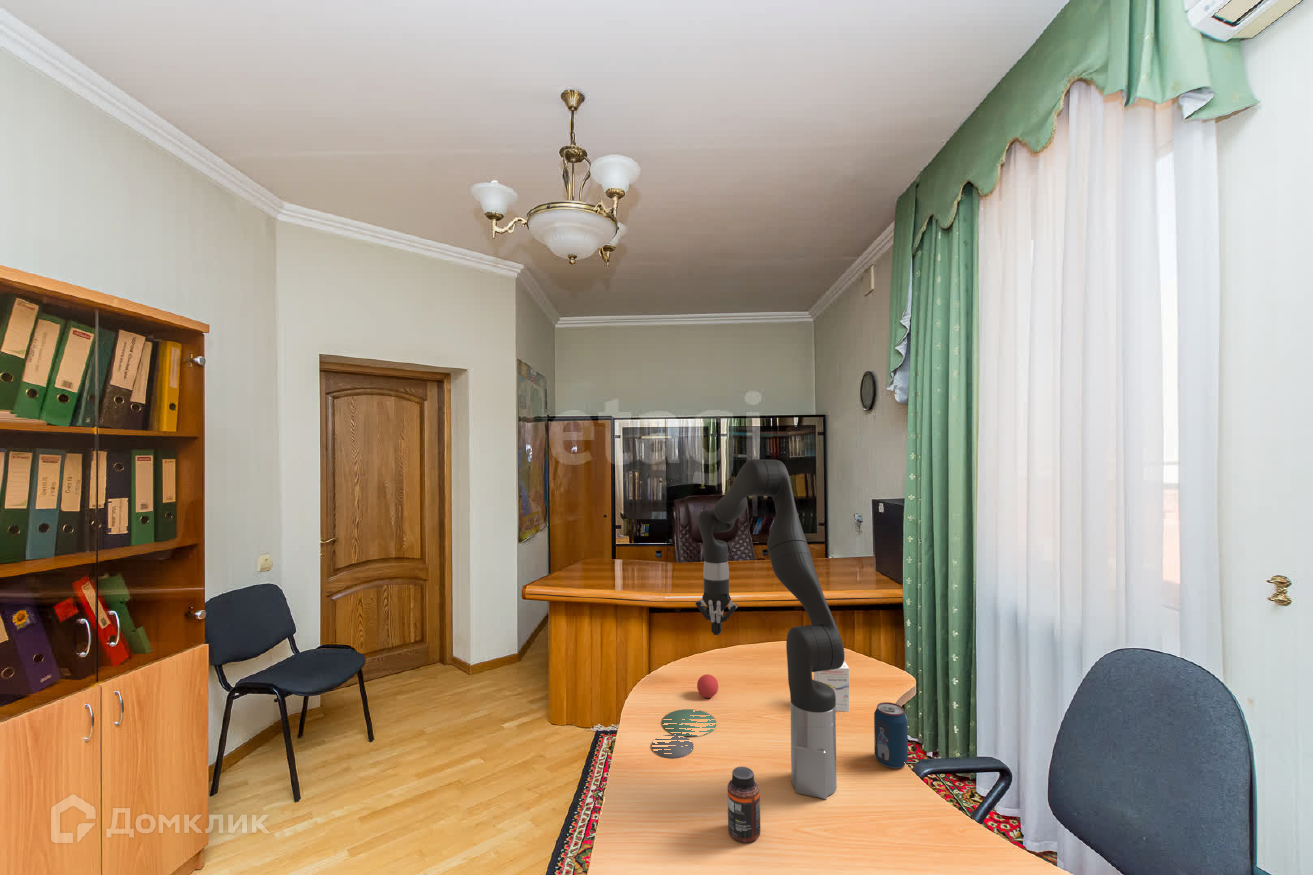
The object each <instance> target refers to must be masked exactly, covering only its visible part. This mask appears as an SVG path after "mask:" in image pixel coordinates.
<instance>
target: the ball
mask: <svg viewBox="0 0 1313 875" xmlns="http://www.w3.org/2000/svg"><path fill="white" fill-rule="evenodd" d="M696 687H697V691H698V693H699V695H700V696H702V697H704V698H707V699H709V698H713V697H715V695H717V693H718V691H719V683H718V680H717V679H716V676H714V675H712V674H703V675H701V676H700V677H699V678H698V680H697V683H696Z"/></svg>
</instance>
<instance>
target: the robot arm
mask: <svg viewBox="0 0 1313 875" xmlns="http://www.w3.org/2000/svg"><path fill="white" fill-rule="evenodd" d="M790 479H791V478H790V475H789V472H788V469H787V467H786V465H785V463H783V461H781V460H778V459H764V458H763V459H762V458H761V459H760V458H755V459H753V458H752V459H749V460H747V461H746V462H745V463H744V464H743V465H742V466H741V468H740V469H739V471H738V473H737V475H736V477H735V478H734V480H733V482H732V484H731V485H730V488H729V489H728V490H727V492H726V493H725V494H724V495H723V496H722V497H721V498H720V499H719V500H718V501H717V503H716V504H715V505H714V508H711V509H709V508H706V509H703V510H701V511H700V513H699V515H698V517H697V525H698V528H699V533H700V535H701V539H702V544H703V553H704V554H703V559H704V561H703V594H702V598H701V599H699V600H697V601H695V606H696V607H697V608H698V611H699V612H700V613H701V614H702V616H703V618H704V619H705V620H708V621H710V623H711V627H710V628H711V633H712V634H713V636H719V635H720V634H721V633H722V631H723V623H724V622H727V621H728V619H730V617H731V615H733V613H734V612H735V611H736V609H737V608H738V606H739V605H738V604H737V603H734V602H733V601H732V597H731V596H730V567H729V550H728V549H729V548H728V547H729V546H728V543H727V542H726V541H724V540H720V539H715V537H714V535H713V534H718V533H719V534H720V533H721V534H722V533H727V532H730V531H731V530H732V529H733V528H734V526H735V523H736V521H737V519H738V518H739V517H740V516H742V514H744V513H745V511H746V510H747V506H748V497H749V496H755V497H771V498H772V500H773V503H774V508H775V517H774V520H773V523H772V526H771V528H770V532H769V535H768V537H767V543H766V546H767V553H768V556H769V560H770V563H771V567H772V569H773V570H772V571H773V573H774V574H775V577H776V578H777V579H778V580H779V582H780V583H781V584H782V585H783V586H784V587H785V588H786V590H788V592H790V593H791V595H793V596H794V597H795V599H797V600H798V601H799V602H800V604H801V605H802V607H803V608H804V611H805V612H806V613H807V616H808V618H809V621H810V625H809V624H808V625H798V626H793V627H791V628H789V630H788V632H787V635H786V643H785V644H786V645H785V647H786V661H787V681H788V688H789V689H788V690H789V694H790V698H789V699H790V770H791V771H790V774H791V775H790V776H791V777H790V778H791V779H790V780H791V784H792V786H793V787H794V789H795V793H797V794H800V795H806V796H809V797H813V798H818V799H823V800H827V798H828V796H830V795H832V794H834V793H835V792H836V791H837V787H838V786H837V784H838V783H837V780H838V779H837V776H838V775H837V730H836V729H837V723H836V722H837V711H836V696H835V692H834V690H833V689H832V688H831V687H830V686H828V685H827V684H825V683H822V682H819V681H816V680H814V679H813V673H814V672H817V671H826V670H834V669H838V668H840V667H841V666H842V665H843V663H844V651H845V647H844V644H843V639H842V636H841V633H840V632H839V629H838V626H837V623H836V621H835V619H834V616H833V615H832V611H831V610H830V607H829V604H828V602H827V599H826V597H825V595H824V592H823V590H822V586H821V584H820V580H819V577H818V574H817V571H816V568H815V565H814V561H813V556H812V554H811V551H810V548H809V545H808V542H807V538H806V536H805V533H804V530H803V527H802V524H801V519H800V518H799V512H798V510H797V506H796V502H795V497H794V493H793V492H794V491H793V488H792V484H791V480H790ZM727 606H728V608H727ZM726 608H727V609H728V611H727V612H726V613H725V615H724V610H725V609H726Z"/></svg>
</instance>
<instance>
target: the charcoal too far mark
mask: <svg viewBox="0 0 1313 875" xmlns="http://www.w3.org/2000/svg"><path fill="white" fill-rule="evenodd" d="M663 736H674V737H672V738H671V739H657V738H655V739H654V740H677V741H671V742H669V743H665V742H657V743H658V744H655V743H653V741H652V742H651V745H676V746H668V747H652V748H651V750H652V749H662V750H658V751H654V752H655V753H657V754H658V755H657V754H656V755H657V756H659V755H660V756H659V757H662V758H665V757H666V759H667V758H668V759H679V758H683V757H686V756H688V755H690V754H691V753H692V752H693V750H694V748H693V747H694V746H693V745H694V743H693V742H689V741H684V742H680V741H678V740H691V739H689V737H686V738H683V737H680V738H679V737H678V736H680V735H674V734H666V735H663ZM685 745H688V746H685ZM681 746H683V747H681ZM664 749H671V750H664ZM691 749H692V750H691ZM654 752H653V753H654ZM655 753H654V754H655ZM664 753H672V754H664ZM689 753H690V754H689ZM687 754H688V755H687ZM685 755H686V756H685Z"/></svg>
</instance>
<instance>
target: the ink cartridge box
mask: <svg viewBox="0 0 1313 875" xmlns="http://www.w3.org/2000/svg"><path fill="white" fill-rule="evenodd" d="M845 659H846V652H845V650H844V663H843V665H842V666H841V667H840V668H838V669H834V670H826V671H817V672H813V680H816V681H819V682H822V683H825V684H827V685H828V686H830V687H831V688H832V689H833V690H834V692H835V696H836V712H850V667H849V666H848V664H847V662H846V660H845Z"/></svg>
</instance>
